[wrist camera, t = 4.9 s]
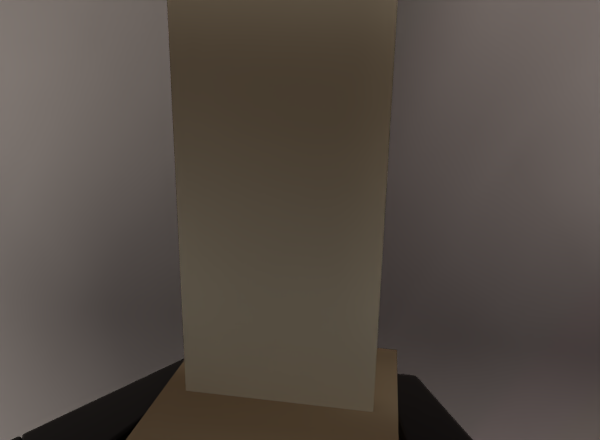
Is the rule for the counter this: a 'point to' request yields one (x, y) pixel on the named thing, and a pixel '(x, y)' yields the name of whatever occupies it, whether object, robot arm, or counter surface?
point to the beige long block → (280, 221)
